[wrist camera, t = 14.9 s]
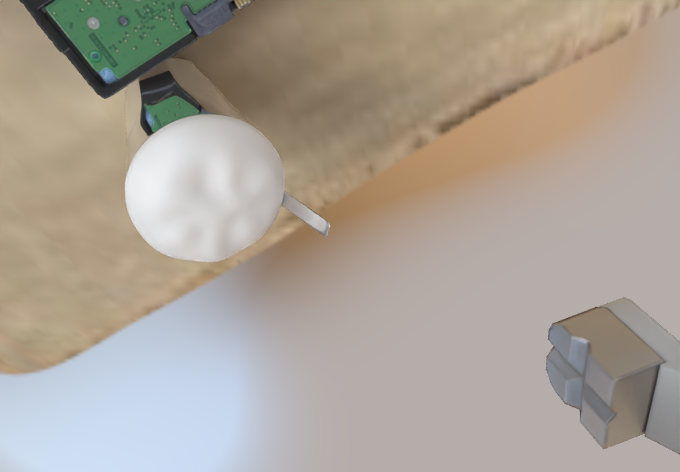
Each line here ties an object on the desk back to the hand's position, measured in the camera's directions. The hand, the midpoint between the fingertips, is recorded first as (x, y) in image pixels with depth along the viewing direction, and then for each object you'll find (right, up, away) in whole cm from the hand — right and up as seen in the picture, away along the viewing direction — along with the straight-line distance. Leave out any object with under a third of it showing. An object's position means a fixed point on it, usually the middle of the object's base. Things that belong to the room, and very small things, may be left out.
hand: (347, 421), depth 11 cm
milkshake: (-6, +9, +14) cm, 18 cm away
